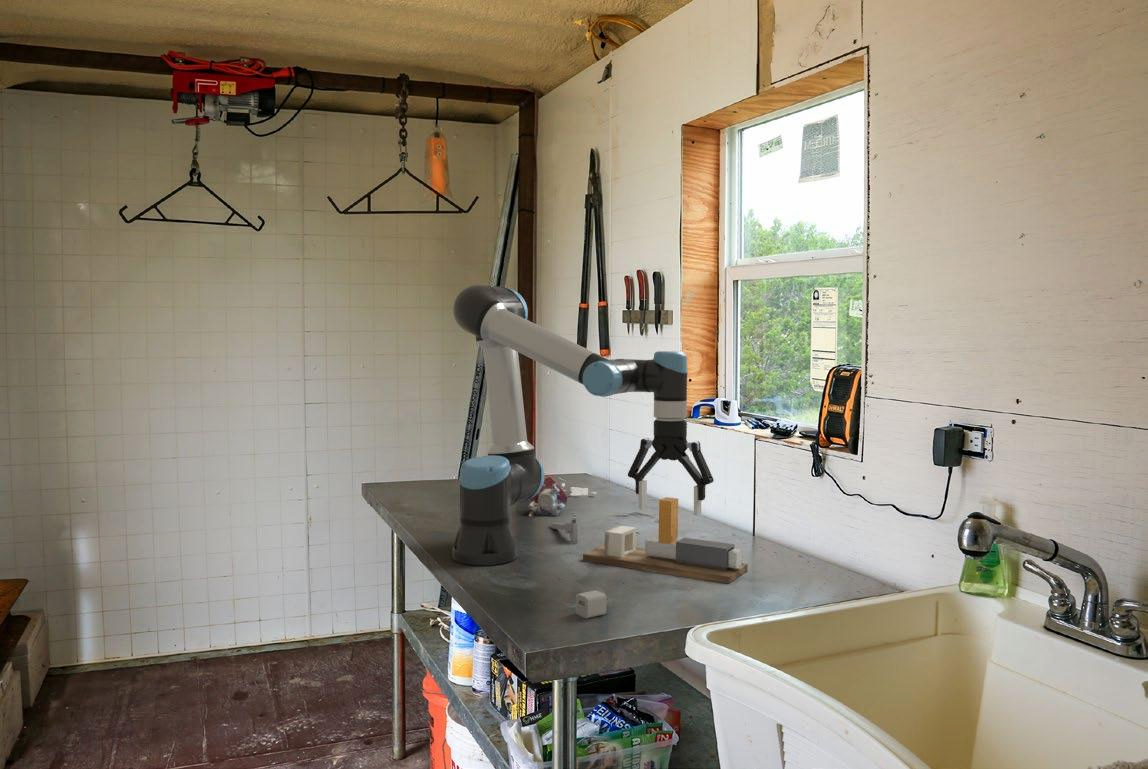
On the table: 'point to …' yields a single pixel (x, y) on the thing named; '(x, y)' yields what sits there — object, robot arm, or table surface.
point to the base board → (663, 565)
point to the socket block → (620, 541)
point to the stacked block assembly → (676, 535)
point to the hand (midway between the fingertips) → (669, 511)
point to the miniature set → (578, 491)
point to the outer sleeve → (702, 554)
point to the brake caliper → (549, 499)
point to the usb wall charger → (591, 604)
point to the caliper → (567, 529)
